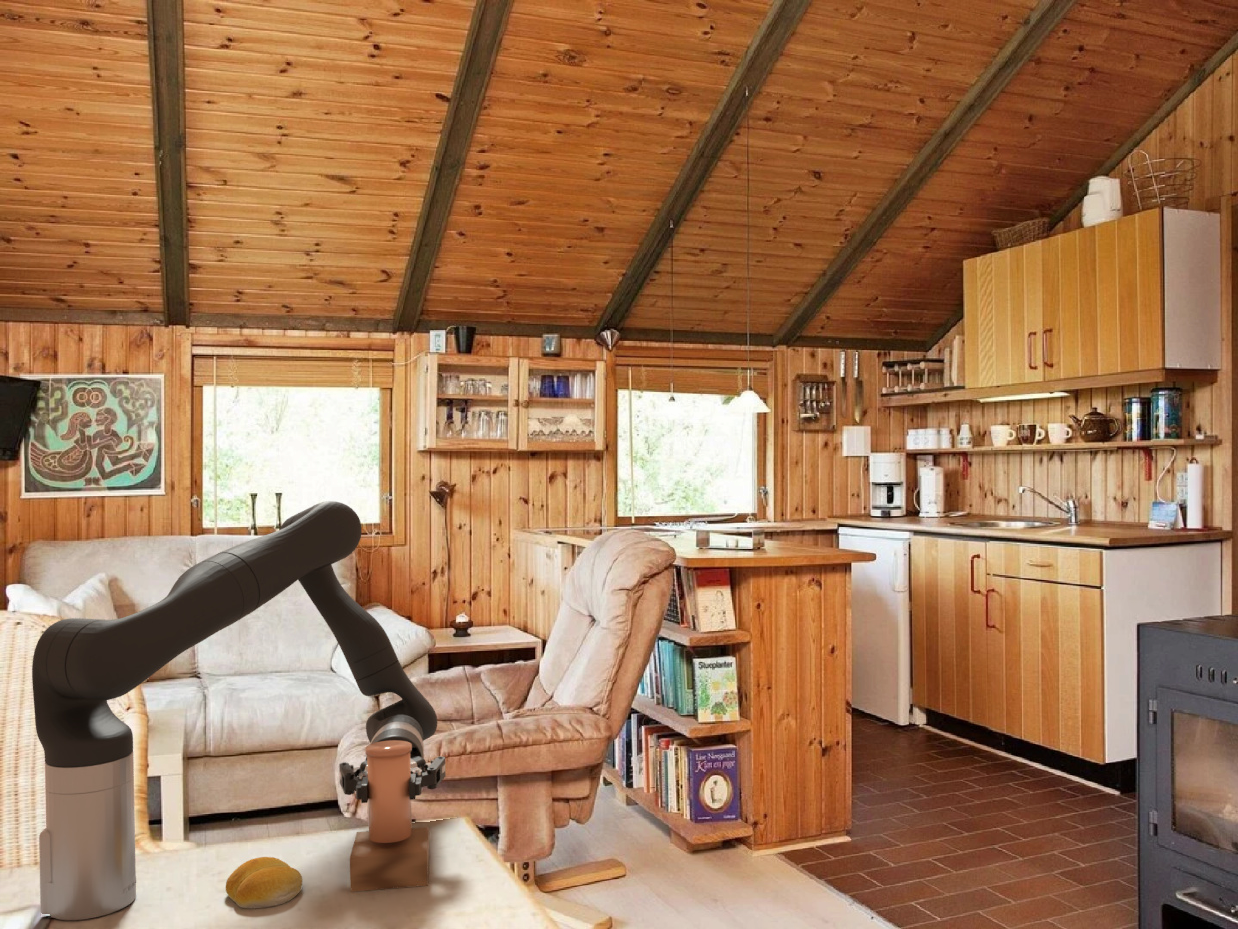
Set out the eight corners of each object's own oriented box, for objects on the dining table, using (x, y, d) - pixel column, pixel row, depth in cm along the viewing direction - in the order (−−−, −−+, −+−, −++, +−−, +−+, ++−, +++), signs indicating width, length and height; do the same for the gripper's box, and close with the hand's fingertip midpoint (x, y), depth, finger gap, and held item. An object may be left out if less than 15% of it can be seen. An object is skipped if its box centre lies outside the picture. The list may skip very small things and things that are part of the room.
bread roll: (246, 918, 118) (245, 882, 118) (217, 894, 124) (217, 861, 124) (315, 897, 123) (315, 863, 123) (284, 875, 130) (283, 843, 130)
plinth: (350, 892, 124) (349, 858, 124) (357, 863, 133) (356, 832, 133) (427, 885, 125) (426, 852, 125) (429, 858, 134) (428, 827, 134)
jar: (365, 845, 126) (363, 754, 126) (369, 829, 131) (367, 742, 131) (412, 841, 127) (410, 751, 127) (414, 825, 132) (412, 739, 132)
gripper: (341, 730, 142) (326, 766, 125) (448, 724, 144) (447, 758, 127) (342, 785, 142) (327, 828, 125) (449, 778, 144) (448, 820, 127)
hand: (388, 793), depth 126 cm, fingers closed on jar, 5 cm apart
